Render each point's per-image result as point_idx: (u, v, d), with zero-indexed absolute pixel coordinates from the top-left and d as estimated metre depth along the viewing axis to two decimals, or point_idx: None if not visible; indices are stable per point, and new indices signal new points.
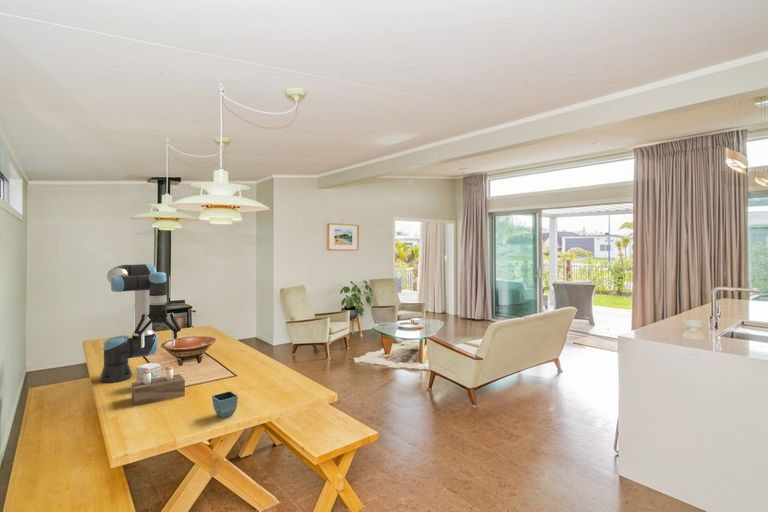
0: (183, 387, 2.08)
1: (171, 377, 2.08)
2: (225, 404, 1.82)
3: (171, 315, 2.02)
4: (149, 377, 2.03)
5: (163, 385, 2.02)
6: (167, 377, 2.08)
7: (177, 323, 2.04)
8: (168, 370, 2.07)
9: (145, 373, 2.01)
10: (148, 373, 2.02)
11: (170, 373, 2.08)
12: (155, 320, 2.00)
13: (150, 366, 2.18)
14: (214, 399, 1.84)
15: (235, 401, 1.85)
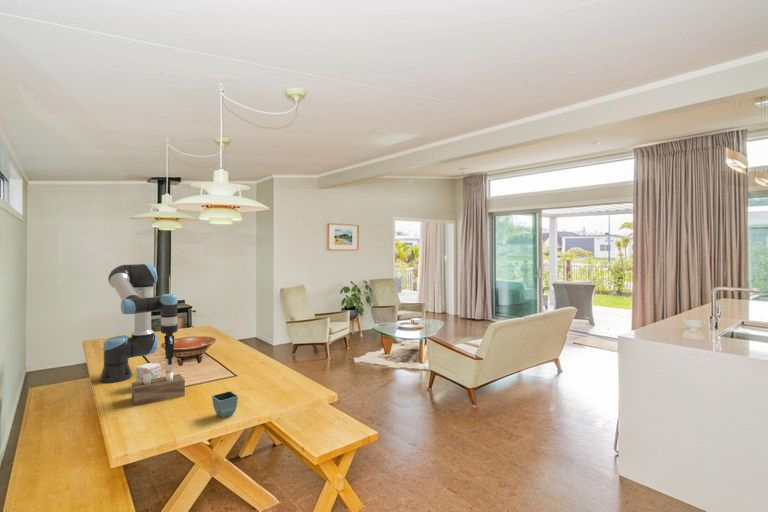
0: (183, 387, 2.08)
1: None
2: (225, 404, 1.82)
3: (168, 342, 2.03)
4: (149, 377, 2.03)
5: (163, 385, 2.02)
6: (167, 380, 2.08)
7: (171, 351, 2.05)
8: (168, 373, 2.08)
9: (145, 373, 2.01)
10: (148, 373, 2.02)
11: (170, 376, 2.08)
12: None
13: (150, 366, 2.18)
14: (214, 399, 1.84)
15: (235, 401, 1.85)
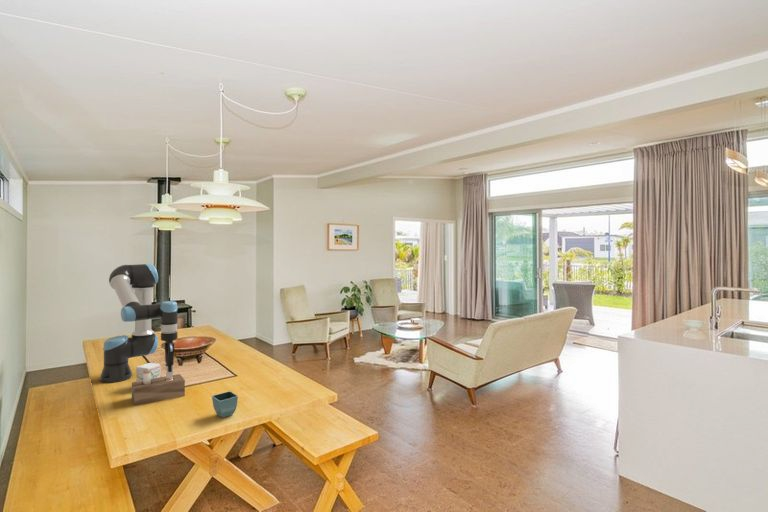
0: (183, 387, 2.08)
1: None
2: (225, 404, 1.82)
3: (168, 349, 2.03)
4: (149, 377, 2.03)
5: (163, 385, 2.02)
6: None
7: (171, 358, 2.05)
8: (168, 380, 2.08)
9: (145, 373, 2.01)
10: (148, 373, 2.02)
11: None
12: None
13: (150, 366, 2.18)
14: (214, 399, 1.84)
15: (235, 401, 1.85)
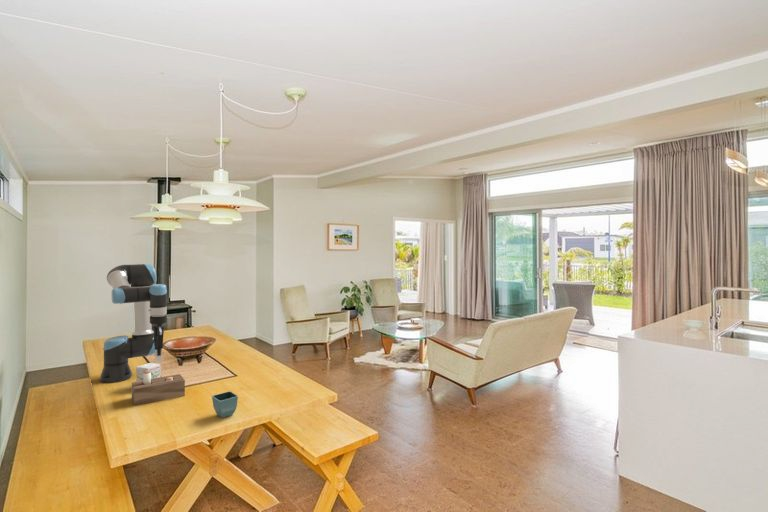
0: (183, 387, 2.08)
1: None
2: (225, 404, 1.82)
3: (157, 333, 2.00)
4: (149, 377, 2.03)
5: (163, 385, 2.02)
6: None
7: (160, 342, 2.02)
8: (168, 380, 2.08)
9: (145, 373, 2.01)
10: (148, 373, 2.02)
11: None
12: None
13: (150, 366, 2.18)
14: (214, 399, 1.84)
15: (235, 401, 1.85)
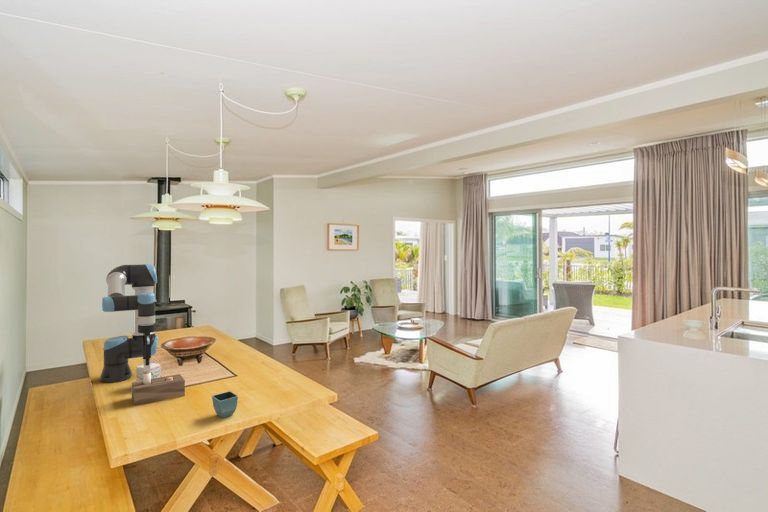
0: (183, 387, 2.08)
1: None
2: (225, 404, 1.82)
3: (145, 342, 1.97)
4: (149, 377, 2.03)
5: (163, 385, 2.02)
6: None
7: (148, 351, 1.99)
8: (168, 380, 2.08)
9: (145, 373, 2.01)
10: (148, 373, 2.02)
11: None
12: None
13: (150, 366, 2.18)
14: (214, 399, 1.84)
15: (235, 401, 1.85)
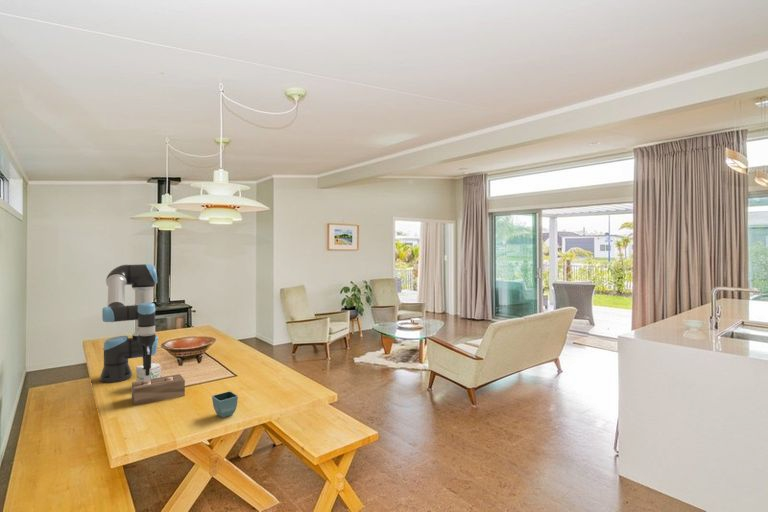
0: (183, 387, 2.08)
1: None
2: (225, 404, 1.82)
3: (145, 352, 1.97)
4: None
5: (163, 385, 2.02)
6: None
7: (148, 361, 1.99)
8: (168, 380, 2.08)
9: (145, 383, 2.02)
10: (148, 383, 2.02)
11: None
12: None
13: None
14: (214, 399, 1.84)
15: (235, 401, 1.85)
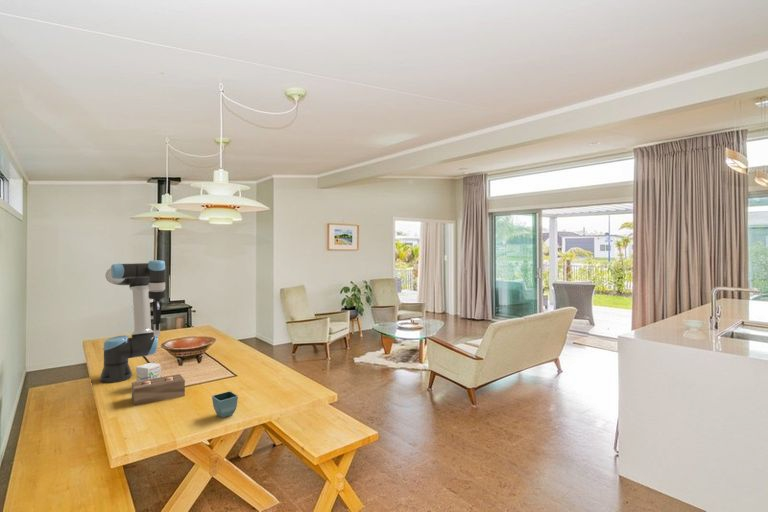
0: (183, 387, 2.08)
1: None
2: (225, 404, 1.82)
3: (155, 307, 2.04)
4: None
5: (163, 385, 2.02)
6: None
7: (158, 316, 2.06)
8: (168, 380, 2.08)
9: (145, 384, 2.02)
10: None
11: None
12: None
13: (150, 366, 2.18)
14: (214, 399, 1.84)
15: (235, 401, 1.85)
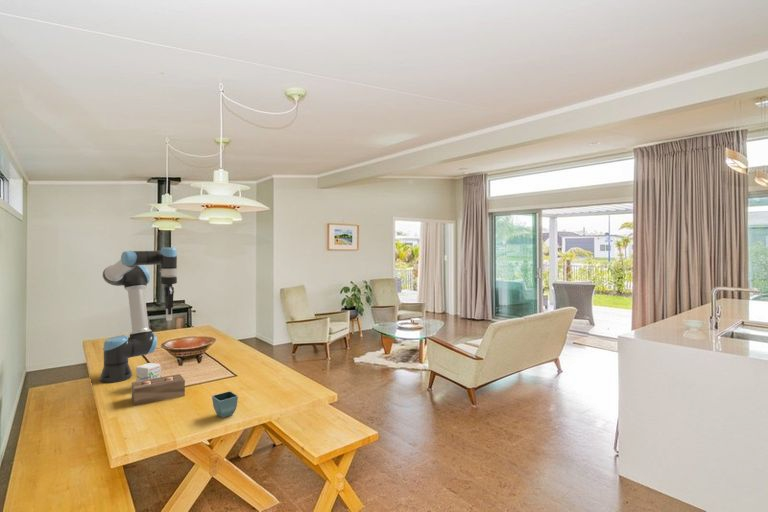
0: (183, 387, 2.08)
1: None
2: (225, 404, 1.82)
3: (168, 292, 2.13)
4: None
5: (163, 385, 2.02)
6: None
7: (171, 301, 2.15)
8: (168, 380, 2.08)
9: (145, 384, 2.02)
10: None
11: None
12: None
13: (150, 366, 2.18)
14: (214, 399, 1.84)
15: (235, 401, 1.85)
